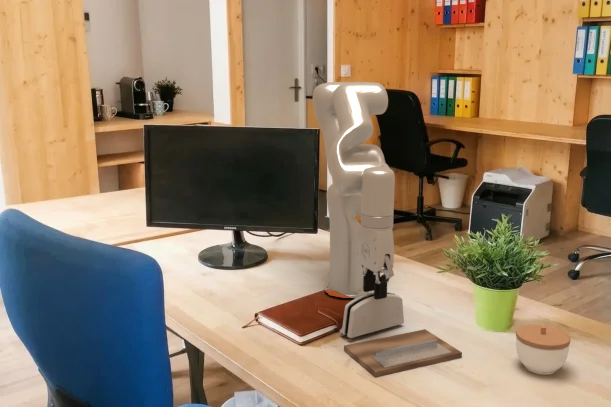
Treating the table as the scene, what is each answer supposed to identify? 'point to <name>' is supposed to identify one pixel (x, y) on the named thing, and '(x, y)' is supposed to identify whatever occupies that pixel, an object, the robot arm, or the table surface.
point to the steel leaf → (409, 353)
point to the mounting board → (367, 348)
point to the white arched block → (371, 314)
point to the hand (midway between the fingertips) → (374, 293)
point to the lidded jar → (542, 348)
